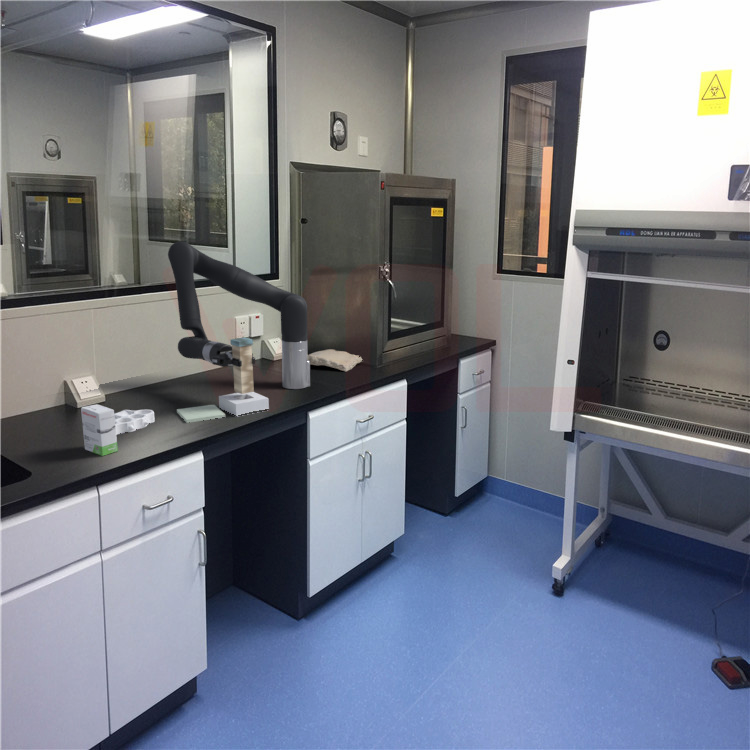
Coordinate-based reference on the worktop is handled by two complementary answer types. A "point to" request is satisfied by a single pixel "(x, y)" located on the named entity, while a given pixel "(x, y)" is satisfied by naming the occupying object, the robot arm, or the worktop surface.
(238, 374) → the plug
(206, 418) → the pad
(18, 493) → the worktop surface
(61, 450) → the worktop surface
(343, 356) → the flat sandstone piece
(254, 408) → the white square stand
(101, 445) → the ink box
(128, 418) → the white multi-hole tray
